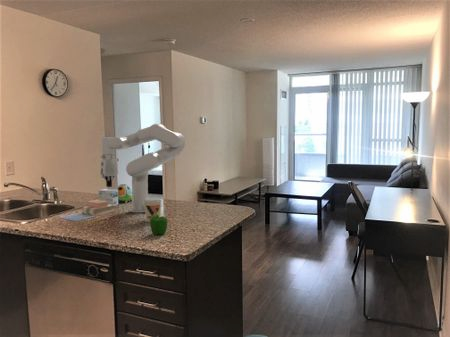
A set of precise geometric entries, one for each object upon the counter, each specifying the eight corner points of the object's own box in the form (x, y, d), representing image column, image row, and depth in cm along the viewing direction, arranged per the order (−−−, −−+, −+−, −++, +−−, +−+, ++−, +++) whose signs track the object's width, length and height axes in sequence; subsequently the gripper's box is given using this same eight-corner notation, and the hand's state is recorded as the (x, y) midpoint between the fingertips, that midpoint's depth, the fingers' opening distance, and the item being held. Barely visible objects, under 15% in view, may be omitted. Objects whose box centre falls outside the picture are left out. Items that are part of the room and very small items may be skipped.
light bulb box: (118, 205, 259) (118, 189, 258) (113, 206, 253) (112, 190, 252) (104, 204, 262) (103, 188, 261) (98, 206, 255) (98, 190, 254)
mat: (95, 216, 224) (95, 216, 224) (75, 221, 213) (75, 220, 213) (78, 213, 233) (78, 213, 233) (58, 217, 222) (58, 217, 222)
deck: (114, 211, 237) (114, 205, 237) (95, 216, 226) (94, 209, 226) (101, 209, 244) (101, 203, 244) (82, 213, 233) (82, 207, 232)
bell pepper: (168, 231, 192) (168, 211, 191) (166, 235, 183) (166, 215, 182) (151, 231, 191) (151, 211, 190) (148, 236, 183) (148, 215, 182)
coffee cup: (145, 223, 209) (144, 201, 208) (144, 219, 218) (143, 198, 217) (162, 221, 211) (162, 200, 210) (160, 218, 220) (160, 197, 219)
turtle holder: (137, 198, 282) (136, 182, 281) (128, 203, 264) (127, 186, 263) (120, 198, 283) (119, 182, 282) (110, 203, 265) (110, 186, 264)
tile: (107, 206, 234) (107, 201, 234) (98, 208, 229) (98, 203, 228) (97, 204, 240) (97, 199, 240) (87, 206, 234) (87, 201, 234)
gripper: (102, 158, 231) (103, 188, 233) (122, 156, 243) (122, 185, 245) (94, 157, 235) (95, 187, 237) (114, 156, 247) (114, 184, 249)
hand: (109, 186), depth 241 cm, fingers closed
